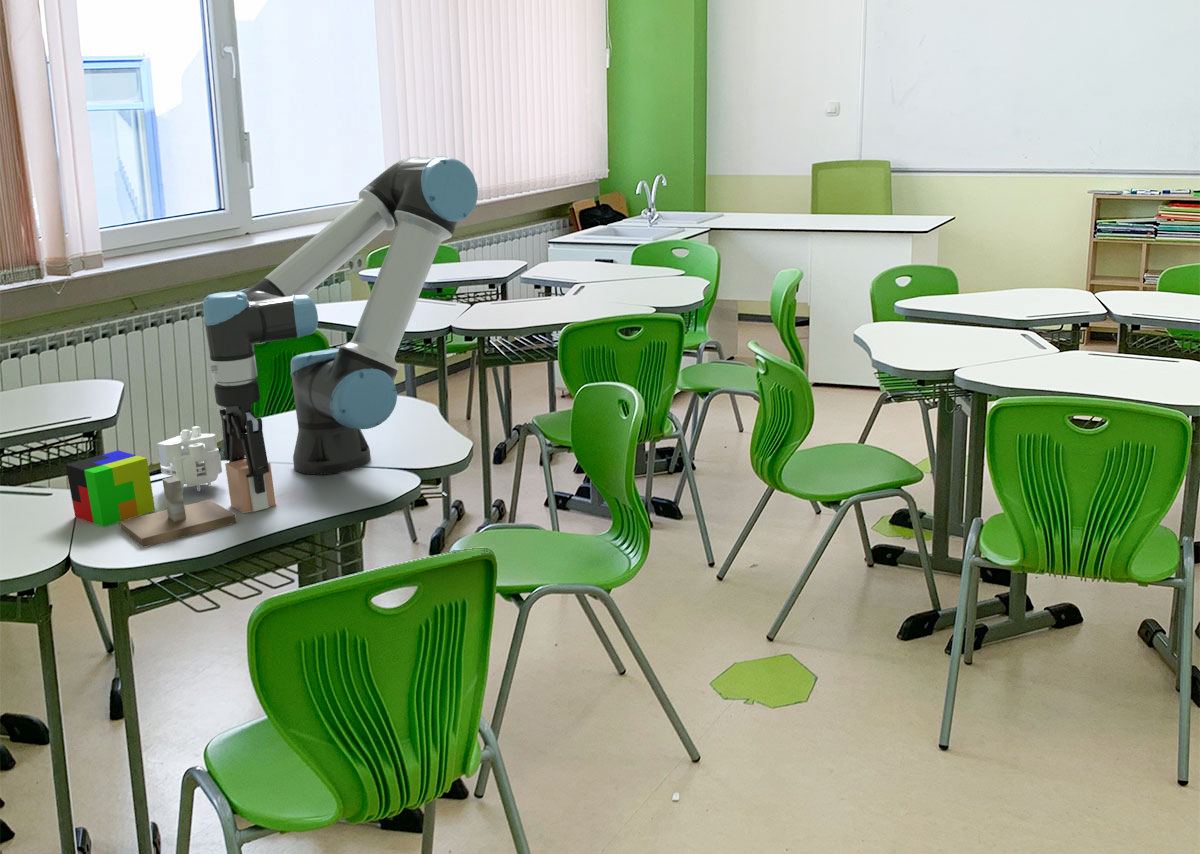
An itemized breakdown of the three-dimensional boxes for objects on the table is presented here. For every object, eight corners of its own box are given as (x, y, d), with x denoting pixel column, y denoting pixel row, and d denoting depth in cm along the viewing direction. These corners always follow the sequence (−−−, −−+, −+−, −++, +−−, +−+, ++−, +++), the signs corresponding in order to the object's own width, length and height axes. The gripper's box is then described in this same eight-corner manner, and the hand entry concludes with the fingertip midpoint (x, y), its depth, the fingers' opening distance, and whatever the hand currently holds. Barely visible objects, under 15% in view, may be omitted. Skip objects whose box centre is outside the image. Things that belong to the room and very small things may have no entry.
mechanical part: (213, 474, 232) (204, 417, 229) (234, 488, 223) (225, 428, 220) (155, 487, 226) (146, 428, 223) (174, 502, 216) (165, 440, 213)
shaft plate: (211, 507, 212) (204, 462, 210) (236, 522, 203) (229, 476, 201) (120, 529, 203) (112, 483, 201) (143, 547, 194) (134, 498, 192)
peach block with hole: (262, 497, 216) (256, 456, 214) (275, 504, 212) (270, 462, 209) (231, 505, 213) (225, 463, 211) (243, 513, 208) (237, 470, 206)
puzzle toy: (126, 501, 219) (118, 450, 216) (155, 510, 212) (146, 458, 210) (75, 517, 211) (65, 464, 209) (103, 527, 205) (93, 473, 202)
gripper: (194, 376, 211) (212, 497, 217) (236, 393, 196) (253, 522, 202) (234, 369, 216) (250, 487, 222) (278, 385, 201) (294, 512, 207)
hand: (252, 504), depth 212 cm, fingers open, 7 cm apart
